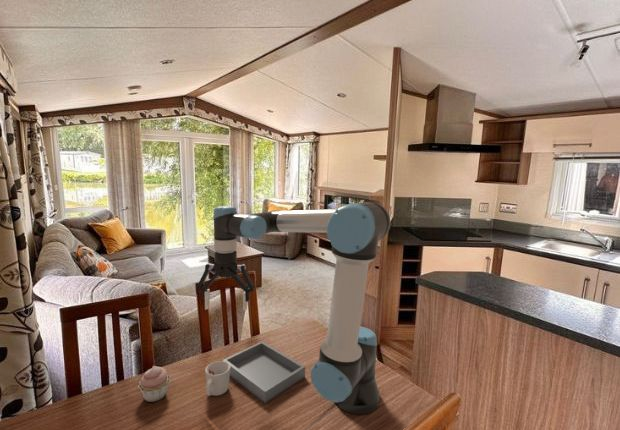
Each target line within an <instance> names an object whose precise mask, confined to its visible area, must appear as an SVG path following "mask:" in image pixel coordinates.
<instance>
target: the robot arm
mask: <svg viewBox="0 0 620 430" xmlns="http://www.w3.org/2000/svg"><path fill="white" fill-rule="evenodd" d="M212 218H213V240H214V241H213V242H214V243H213V247H214V248H213V250H214V255H213V256H214V260H213V261H214V263H212V262H208V263H206V264H205V265H204V266H205V267H204V271H203V274H202V276H201V278H200V279H199V281H198V283H197V285H196V290H199V291H201V296H202V297H201V299H202V301H203V300H204V310H205V311H206V310H208V309H210V307H211V301H210V299H211V296H210V291H211V290H210V288H209V287H210V286H211V285H212V284H213V283H214V281H215V280H216V279H217V278H218V277H220V278H232V279H233V280H235V282H236V283H237V285H238V286H240V288H241V289H242V290H243V292H242V312H246V310H247V309H248V302H249V301H250V300H251V293H252V292H254V291H255V289H256V286H255V283H254V282H253V280H252V278H251V276H250V274H249V272H248V270H247V264H245V263H242V264H238V263H237V261H238V257H237V256H238V255H237V254H238V253H237V252H238V251H237V249H238V248H237V247H238V246H237V245H238V244H237V243H238V242H237V240H238V239H237V237H240V238H246V239H249V240H259V239H261V238H263V236H264V235H266V234H270V233H320V234H321V233H322V234H324V233H326V235H327V239H328V241H330V244H331V254H332V255H333V256H334V258H335V259H336V260H335V268H334V274H333V275H334V277H333V285H332V292H331V301H330V309H329V319H328V323H327V324H328V325H327V326H328V327H327V334H326V338H324V339H323V340H322V341H321V342H320V347H319V354H318V356H319V357H318V360H317V361H316V362H314V364H313V365H312V367H311V370H310V380H311V383H312V386H313V387H314V388H315V390H316V392H318V394H319V395H320V396H321V397H323V399H325V400H327V401H330V402H332V403H335V404H336V406H337V407H338V408H340V409H341V410H343V411H345V412H347V413H350V414H353V415H365V414H369V413H372V412H373V411H375V410H376V409H377V408H378V406H379V404H380V390H379V387H378V384H377V380H376V362H377V346H378V341H377V340H378V339H377V335H376V333H375V332H374V331H373V330H371V329H370V328H367V327H365V326H361V322H362V315H363V308H364V307H363V306H364V301H365V295H366V287H367V286H366V285H367V279H368V278H367V277H368V272H369V266H370V265H369V264H370V263H372V262H373V261H374V260H376V258H377V250H378V244H379V242H380V241H381V240H382V239H383V238H385V237H386V236H387V235H388V232H389V231H390V228H391V222H392V221H391V217H390V213H389V212H388V210H387V209H386V208H385V207H384V205H382V204H381V203H378V202H375V201H362V202H355V203H354V202H352V203H351V202H350V203H348V204H345V205H343V206H340V207H339V208H330V209H329V208H327V209H323V208H322V209H305V210H304V209H302V210H301V209H297V210H296V209H295V210H277V209H276V210H270V211H265V212H257V213H249V214H243V213H238V212H237V208H236V206H231V205H221V206H216V207H215V208H214V209H213V217H212ZM213 269H214V271H215V272H214V274H213V276H211V278H210V279H208V281H207V282H206V280H207V278H208V275H209V273H210V272H211V270H213ZM237 270H239V271H240V272H241V275H242V277H243V278H242V277H241V275H239V273H238V271H237ZM243 279H244V280H245V281H244V280H243ZM205 282H206V283H205ZM204 284H205V285H204Z"/></svg>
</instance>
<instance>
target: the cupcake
mask: <svg viewBox="0 0 620 430" xmlns="http://www.w3.org/2000/svg"><path fill="white" fill-rule="evenodd" d="M168 374H169V373H167V371H166V369H165V368H164V367H161V366H156V365H152V368H149V369H147V371H145V372H144V374H143V376H142V377H140V378H141V379H140V381H138V382H139V385H137V388H138V389H139V390H140V391H141V394H142V397H143V399H144V400H145V401H146V402H148V403H149V402H150V403H151V402H152V403H154V402H157V401H159V400H160V401H161V399H163V398H164V397H165V396H166V394H167V392H168V391H167V390H168V387H169V385H170V382H171V378H172V375H168Z"/></svg>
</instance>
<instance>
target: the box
mask: <svg viewBox="0 0 620 430" xmlns="http://www.w3.org/2000/svg"><path fill="white" fill-rule="evenodd" d="M222 361H225V362H228V363H229V364H230V366H231V369H230V378H232V379H233V380H234V381H236V382H237V383H239V385H240V386H242V387H243V388H244V389H245V390H247V392H249V393H250V394H252V395H253V396H255V397H256V398H257V399H258V400H260V401H261V402H263V403H264V404H267V403H269V402H270V401H272V400H273V399H274V398H276V397H278V396H279V395H281V394H282V393H284V392H285V391H286V390H288V389H291V387H293V386H294V385H296V384H297V383H299V382H300V381H302V380H303V379H305V378H306V366H305V365H303V364H302V363H300V362H298V361H297V360H295V359H293V358H291V357H289V356H288V355H286V354H284V353H282V352H281V351H279V350H278V349H276V348H274V347H273V346H271V345H269V344H268V343H266V342H264V341H259V342H258V343H255V344H253V345H252V346H249V347H247V348H245V349H243V350H241V351H239V352H236V353H234V354H232V355H230V356H228V357H226V358H224V359H222Z"/></svg>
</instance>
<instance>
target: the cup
mask: <svg viewBox="0 0 620 430" xmlns="http://www.w3.org/2000/svg"><path fill="white" fill-rule="evenodd" d="M230 369H231V366H230V364H229V363H228V362H225V361H223V360H216V361H214V362H213V361H212V362H211V363H209V364H208V365H207V366H206V367H205V369H204V373H205V380H206V381H205V382H206V385H205V394H206V395H207V396H209V397H210V396H214V397H215V396H217V397H218V396H221V395H223V394H225V393H226V392H227V391H228V389H229V386H230V379H231V376H230Z"/></svg>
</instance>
